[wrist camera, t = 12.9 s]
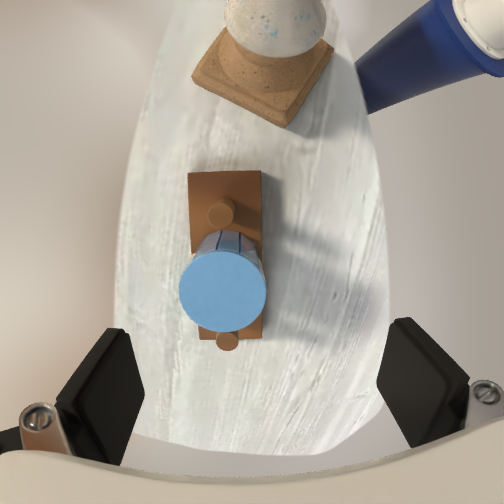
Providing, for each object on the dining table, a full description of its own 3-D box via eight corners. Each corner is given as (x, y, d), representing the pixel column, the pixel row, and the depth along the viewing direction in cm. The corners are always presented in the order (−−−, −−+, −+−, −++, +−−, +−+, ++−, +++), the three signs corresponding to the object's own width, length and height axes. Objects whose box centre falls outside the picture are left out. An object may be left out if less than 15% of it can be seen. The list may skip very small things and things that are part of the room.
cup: (245, 220, 28) (247, 237, 20) (268, 280, 30) (278, 316, 22) (183, 245, 29) (164, 270, 21) (209, 301, 30) (200, 342, 22)
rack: (189, 173, 28) (173, 172, 21) (259, 170, 28) (266, 168, 21) (201, 333, 33) (192, 372, 26) (261, 332, 33) (266, 371, 26)
